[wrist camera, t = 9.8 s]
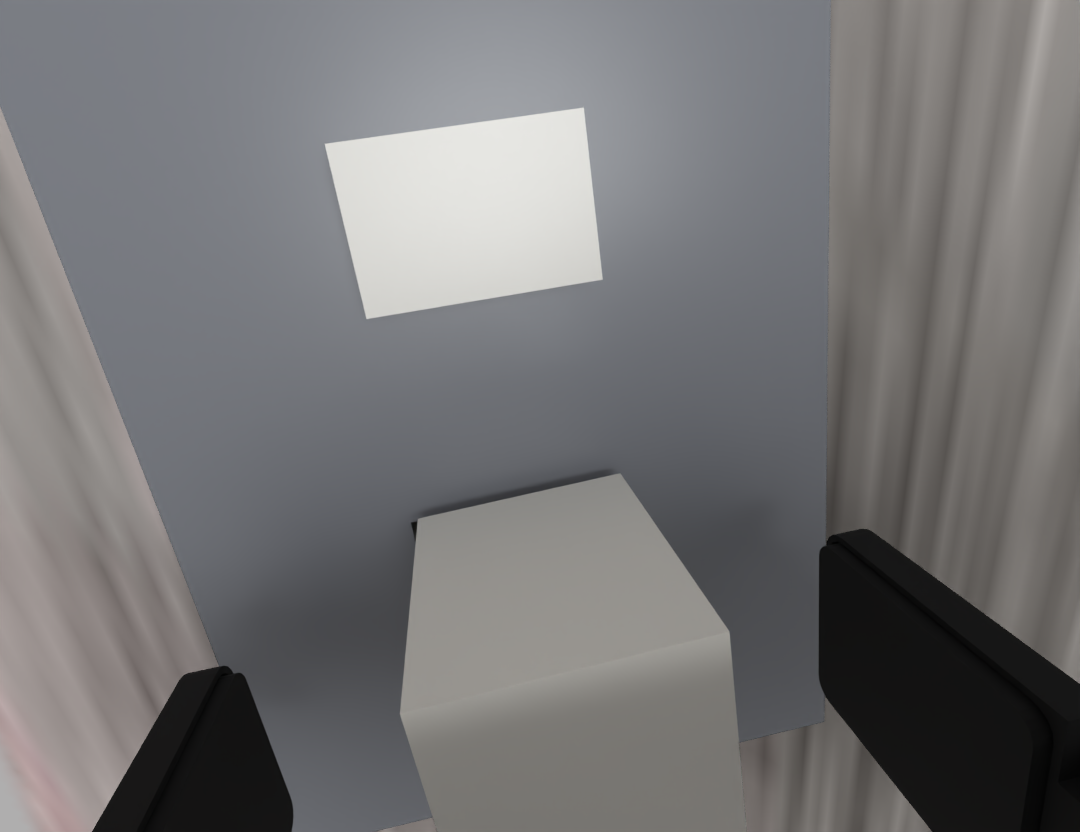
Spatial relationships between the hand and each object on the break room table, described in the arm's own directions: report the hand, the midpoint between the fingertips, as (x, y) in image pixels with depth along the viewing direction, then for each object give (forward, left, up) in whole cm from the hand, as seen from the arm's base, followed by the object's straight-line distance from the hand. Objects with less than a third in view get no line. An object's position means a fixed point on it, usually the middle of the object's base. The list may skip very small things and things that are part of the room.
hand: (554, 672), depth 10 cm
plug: (0, 0, -5) cm, 5 cm away
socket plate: (+3, 0, -5) cm, 6 cm away
